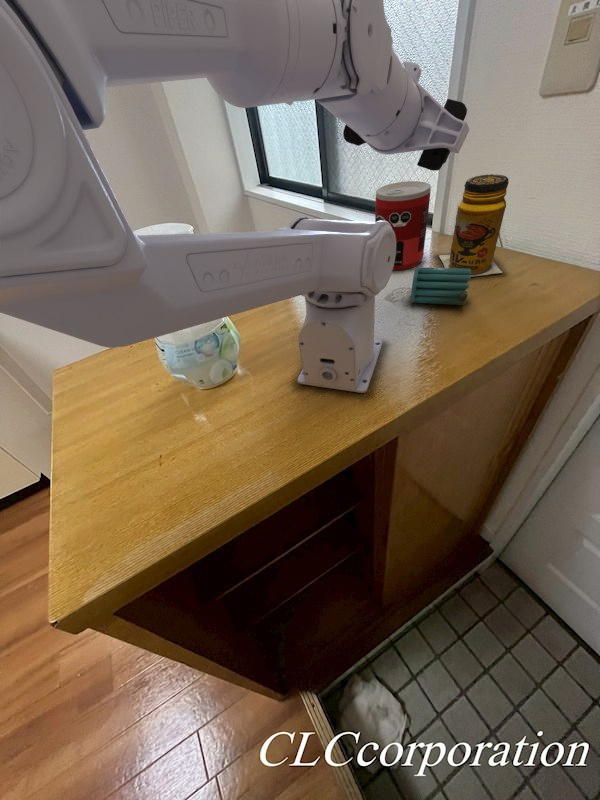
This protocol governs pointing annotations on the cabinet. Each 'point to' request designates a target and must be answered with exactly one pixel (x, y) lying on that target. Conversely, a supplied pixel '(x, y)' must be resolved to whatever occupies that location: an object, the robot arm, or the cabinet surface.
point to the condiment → (478, 225)
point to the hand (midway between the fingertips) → (417, 143)
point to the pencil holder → (440, 285)
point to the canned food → (405, 218)
